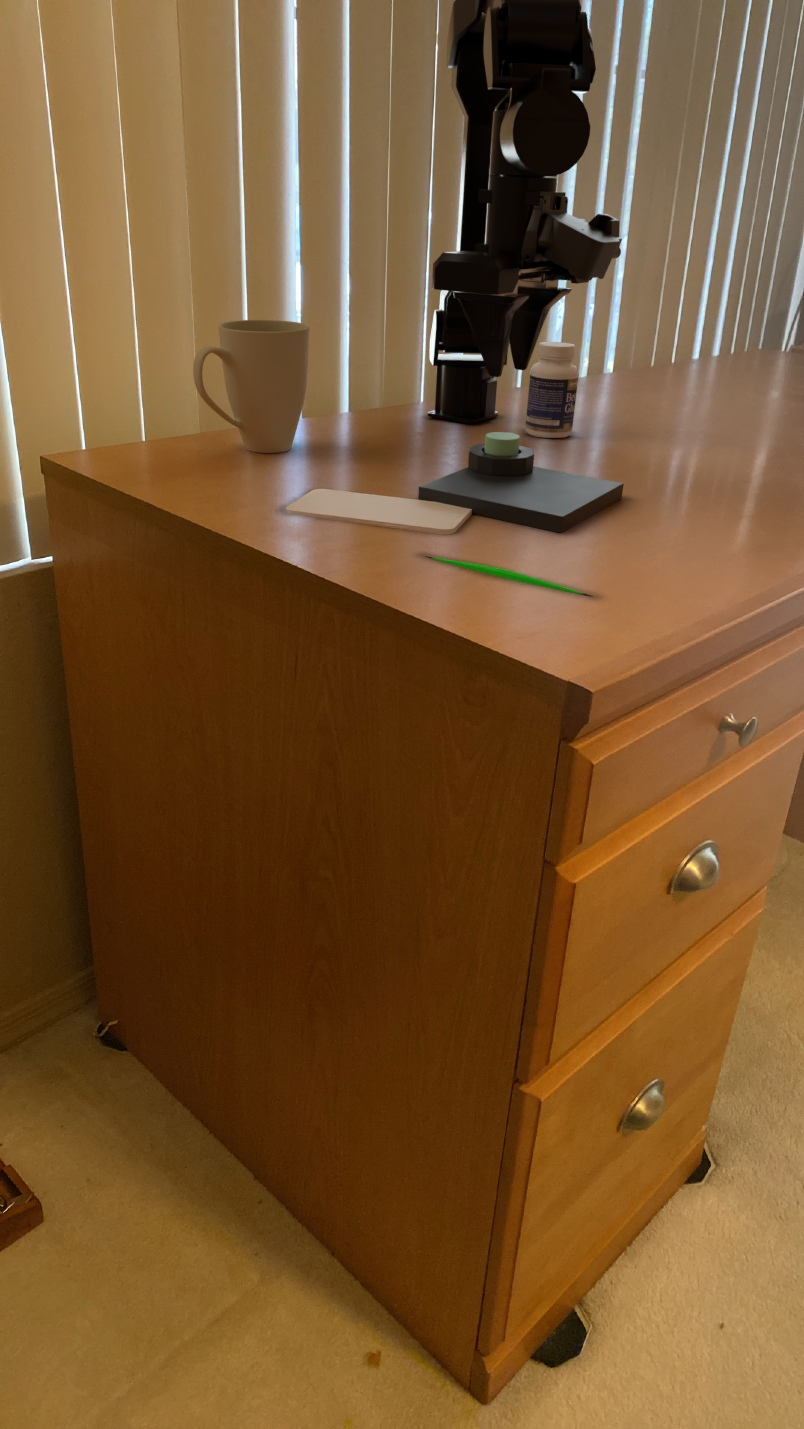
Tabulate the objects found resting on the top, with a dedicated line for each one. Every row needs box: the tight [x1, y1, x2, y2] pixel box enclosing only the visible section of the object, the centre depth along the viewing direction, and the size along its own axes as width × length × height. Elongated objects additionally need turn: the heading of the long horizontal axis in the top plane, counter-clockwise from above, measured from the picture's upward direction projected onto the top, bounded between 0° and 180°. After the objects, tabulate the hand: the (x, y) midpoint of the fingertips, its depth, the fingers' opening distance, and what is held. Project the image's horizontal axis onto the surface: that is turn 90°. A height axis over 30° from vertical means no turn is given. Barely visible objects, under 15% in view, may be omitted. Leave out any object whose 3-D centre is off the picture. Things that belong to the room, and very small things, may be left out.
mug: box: [192, 319, 310, 454], centre depth 99 cm, size 11×10×12 cm
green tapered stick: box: [424, 555, 595, 598], centre depth 71 cm, size 1×14×1 cm, turn 58°
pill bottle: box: [524, 341, 579, 439], centre depth 110 cm, size 5×5×10 cm
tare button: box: [484, 431, 521, 456], centre depth 92 cm, size 3×3×2 cm
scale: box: [417, 443, 625, 534], centre depth 88 cm, size 14×14×3 cm
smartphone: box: [285, 488, 473, 535], centre depth 84 cm, size 7×1×15 cm
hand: (508, 372), depth 89 cm, fingers open, 5 cm apart
